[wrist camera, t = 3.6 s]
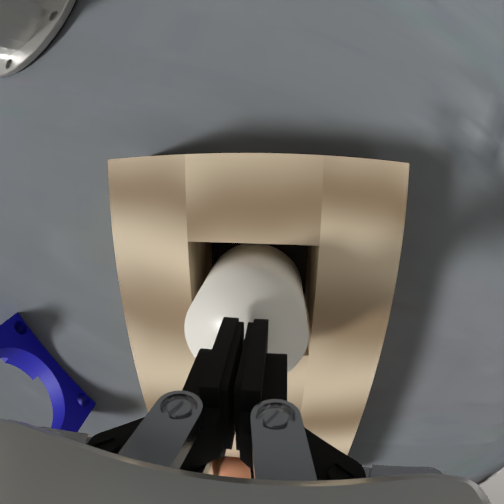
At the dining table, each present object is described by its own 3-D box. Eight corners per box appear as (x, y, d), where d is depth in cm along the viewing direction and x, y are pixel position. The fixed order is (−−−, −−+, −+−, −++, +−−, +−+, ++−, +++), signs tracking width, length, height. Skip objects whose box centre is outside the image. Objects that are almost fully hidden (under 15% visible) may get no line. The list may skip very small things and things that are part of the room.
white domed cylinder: (206, 241, 16) (179, 276, 12) (304, 244, 16) (314, 281, 11) (211, 325, 18) (190, 378, 13) (298, 329, 17) (302, 385, 13)
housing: (147, 156, 18) (107, 159, 13) (377, 160, 17) (409, 163, 12) (189, 463, 27) (179, 499, 23) (321, 472, 26) (323, 509, 21)
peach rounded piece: (220, 441, 21) (210, 489, 16) (285, 445, 21) (283, 495, 16) (224, 471, 23) (215, 514, 18) (280, 475, 22) (278, 519, 18)
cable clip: (6, 329, 25) (-28, 356, 19) (18, 311, 24) (-20, 340, 18) (77, 411, 27) (53, 447, 21) (96, 402, 26) (70, 442, 20)
